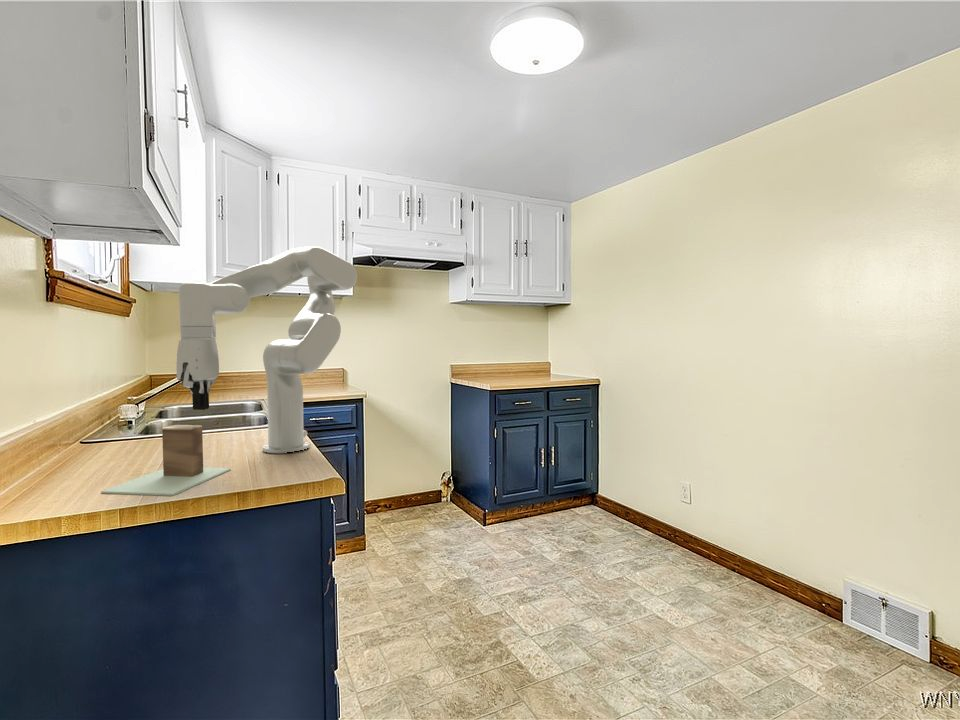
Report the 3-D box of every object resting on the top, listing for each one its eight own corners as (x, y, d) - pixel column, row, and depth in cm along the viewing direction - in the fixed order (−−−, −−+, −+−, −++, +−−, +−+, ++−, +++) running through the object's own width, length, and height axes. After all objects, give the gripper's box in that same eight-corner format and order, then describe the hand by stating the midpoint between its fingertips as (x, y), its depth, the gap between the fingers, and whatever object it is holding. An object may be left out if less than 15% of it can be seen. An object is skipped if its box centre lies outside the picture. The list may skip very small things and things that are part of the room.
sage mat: (169, 468, 125) (169, 466, 125) (230, 470, 124) (230, 468, 124) (100, 493, 106) (100, 491, 106) (172, 495, 104) (172, 493, 104)
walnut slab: (175, 471, 121) (174, 424, 121) (203, 472, 120) (202, 425, 120) (163, 475, 117) (162, 427, 117) (192, 476, 116) (190, 428, 116)
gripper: (203, 333, 132) (206, 404, 133) (161, 334, 117) (164, 414, 118) (231, 333, 131) (233, 405, 132) (192, 334, 116) (195, 414, 117)
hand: (201, 409), depth 125 cm, fingers closed
